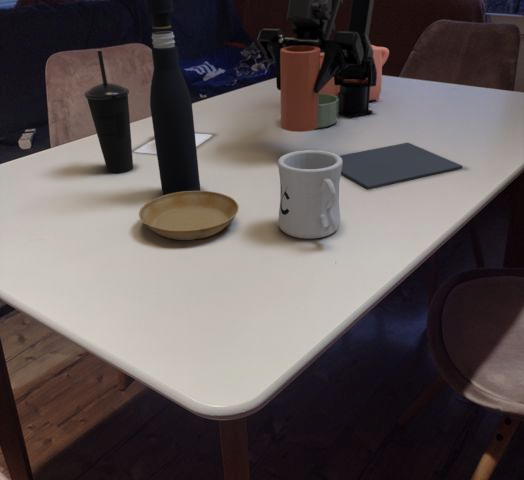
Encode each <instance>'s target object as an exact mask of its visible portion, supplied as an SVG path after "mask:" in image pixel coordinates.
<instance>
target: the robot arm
mask: <svg viewBox="0 0 524 480" xmlns="http://www.w3.org/2000/svg"><path fill="white" fill-rule="evenodd" d="M343 4H344V0H288V8H287V15H286V21H288V22H290V23H291V24H292V27H291V31H292V33H293V34H296V37H287V36H285V35H284V32H283V30H282V29H281V28H262V29H261V30H260V31H259V32H258V35H257V39H256V43H257V45H258V46H259V48H260V50H261V52H262V54H263V56H264V58H265V59H266V60H267V61H269V62H274V63H275V79H276V81H275V82H276V88H277V90H278V91H281V83H280V49H281V48H284V47H288V46H296V45H309V46H316V47H319V48H320V53H324V60H323V63H322V65H321V68H320V71H319V74H318V77H317V80H316V83H315V87H314V91H315V93H318V92H319V91H320V90H321V89H322V88H323V87H324V86H325V85H326V84H327V83H328V81H329V80H330V79H331V78H333V77H334V84H335V85H340V92H338V99H339V109H338V114H340V115H343V116H345V117H348V118H354V117H359V116H365V115H371V114H373V110H371V109H370V100H369V96H370V87H372V86H376V82H377V71H376V66H375V62H374V58H373V49H372V46H371V45H372V43H371V41H370V39H369V36H370V29H371V24H372V23H371V22H372V16H373V10H374V4H375V0H351V7H350V13H349V21H348V28H347V31H343V30H342V31H341V30H339V31H336V32H335V30H336V24H335V21H336V18H337V14H338V11H339V8H340V6H343ZM334 32H335V34H334V37H333V40H331V39H330V37H331V34H332V33H334ZM367 78H368V80H366V79H367Z"/></svg>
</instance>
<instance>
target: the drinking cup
mask: <svg viewBox="0 0 524 480" xmlns="http://www.w3.org/2000/svg"><path fill="white" fill-rule="evenodd" d="M97 57H98V63H99V68H100V73H101V79H102V83H99V84H96V85H94V86H92V87H91V88H89V89H88V90H86V91H85V92H84V93H83V95H84V98H86V100H87V104H88V107H89V110H90V114H91V117H92V121H93V125H94V128H95V132H96V136H97V139H98V142H99V146H100V150H101V153H102V156H103V160H104V163H105V167H106V170H107V172H109V173H112V174H122V173H128V172H130V171H132V170H133V168H134V162H133V161H134V160H133V147H132V134H131V119H130V105H129V104H130V103H129V94H130V90H129V88H128V87H126V86H125V87H124V86H122V85H120V84H117V83H112V82H108V80H107V74H106V69H105V62H104V57H103V52H102V50H97Z"/></svg>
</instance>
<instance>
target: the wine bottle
mask: <svg viewBox="0 0 524 480" xmlns="http://www.w3.org/2000/svg"><path fill="white" fill-rule="evenodd" d="M144 4H145V6H144V7H145V12H146V14H151V23H152V30H154V32H152V33H151V39H152V42H151V43H152V45H153V47H151V56H152V65H153V71H152V77H151V82H150V83H151V84H150V94H149V107H150V108H149V109H150V115H151V122H152V128H153V129H152V130H153V136H154V139H155V144H156V151H157V154H156V158H157V164H158V171H159V172H158V173H159V179H160V186H161V192H162V193H161V194H162V196H164V195H167V194H171V193H177V192H183V191H202V190H201V182H200V181H201V179H200V172H199V163H198V153H197V151H198V150H197V147H196V140H195V133H196V132H195V131H196V130H195V121H194V111H193V101H192V98H191V94H190V91H189V87H188V83H187V82H186V80H185V77H184V73H182V70H181V68H180V61H179V51H178V46H176V45H175V44H176V41H175V34H174V32H173V31H169V30H170V29H171V28H172V24H171V19H170V13H173V12H174V10H175V9H174V1H173V0H144Z"/></svg>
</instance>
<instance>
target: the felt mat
mask: <svg viewBox="0 0 524 480" xmlns="http://www.w3.org/2000/svg"><path fill="white" fill-rule="evenodd" d="M339 156H340V157H341V158H342V162H343V164H342V170H341V176H344V177H346V178H347V179H349V180H351V181H353V182H354V183H356V184H357V185H359V186H362V187H363V188H364V189H367V190H370V189H375V188H379V187H380V188H381V187H384V186H388V185H394V184H397V183H398V184H399V183H402V182H407V181H412V180H416V179H422V178H425V177H430V176H434V175H438V174H444V173H448V172H452V171H457V170H463V165H462V164H459V163H457V162H455V161H453V160H450V159H448V158H445V157H443V156H440V155H438V154H436V153H434V152H431V151H428V150H427V149H425V148H421V147H419V146H417V145H415V144H412V143H410V142H403V143H399V144H392V145H387V146H382V147H377V148H372V149H368V150H362V151H357V152H352V153H347V154H342V155H339Z"/></svg>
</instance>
